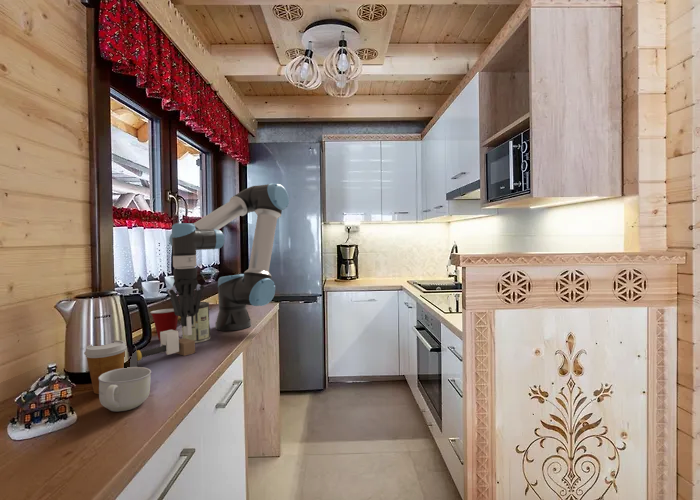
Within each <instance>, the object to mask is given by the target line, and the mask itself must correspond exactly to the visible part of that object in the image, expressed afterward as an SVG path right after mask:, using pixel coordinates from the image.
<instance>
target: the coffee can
mask: <svg viewBox="0 0 700 500" xmlns="http://www.w3.org/2000/svg"><path fill="white" fill-rule="evenodd" d="M209 305H210V302H208V301H200V306H199V311H198V313H195V316H193V325H192V335H189V336H187V335H184V329H183V326H182V325H181V330H182V331H181V332H182V333H181V334H182V338H186V339H190V340H194V341H195V344H197V343H203V342H206V341H209V340H210V339H211V326H210V325H211V324H210V307H209ZM187 316H188V315H187Z"/></svg>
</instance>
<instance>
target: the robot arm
mask: <svg viewBox="0 0 700 500" xmlns="http://www.w3.org/2000/svg"><path fill="white" fill-rule="evenodd" d="M289 203H290V197H289V194H288V192H287V189H286V188H285V186H283V185H282V184H280V183H269V184H268V183H267V184H258V185H252V186H250V187H249V186H248V187H246V188H245V189H243V190H241V191H239V192H238V193H237V194H234V195H233V196H232V197H230V199H229V201H227V202H226V203H225V204H223V205H221V206H220V207H217V209H215V210H213V211H211V212H210V213H208V214H207V215H205V216H203V217H202V218H200V219H199V220H197V221H195V222H193V223H190V222H189V223H187V222H182V223H181V222H179V223H173V224H172V226H171V233H170V235H169V243H170V246H171V247H172V267H173V268H174V269H173V284H172V287H170V289H169V288H168V289H166V293H167V294H168V296H169V298H170V302H171V306H172V309H174V313H175V315H176V316H178V317H180V324H181V327H182V326H183V329H184V335H187V336H189V335H192V325H193V316H195V313H198V311H199V306H200V302H201V298H202V293H203V290H204V289H205V286H204V285H201V284H199V281H198V280H197V278H198V269H197V267H196V266H197V251H201V250H202V251H203V250H218V249H221V248H222V247H223V246H224V244H225V235H224V233H223V232H222V230H220V229H222V228H223V227H225V226H226V225H228V224H229V223H231V222H232V221H234V220H235V219H237V218H238V217H240V216H241V217H244V216H246V215H247V214H249V213H253V212H254V213H255V214H256V217H257V218H256V222H255V228H254V235H253V240H252V247H251V253H250V257H249V265H248V269H246V270H245V271H244V272H243V273H240V274H239V273H238V274H234V275H225V276H220V277H219V278H218V280H217V294H218V295H217V296H218V313H217V316H216V321H215V323H214V324H215V330H217V331H224V332H225V331H227V332H229V331H230V332H231V331H238V330H239V331H240V330H244V329H248V328H250V327H252V320H251V318H250V315H249V312H248V309H247V306H252V307H263V306H266V305H268V304H270V302H272V300H273V299H274V297H275V294H276V285H275V282H274V280H272V274H271V273H270V266H271V259H272V253H273V249H274V248H273V246H274V241H275V233H276V227H277V222H278V219H279V218H281V217H282V212H283V211H284V210H285V209H287V208H288V207H289ZM176 293H177V294H178V295H177V294H176ZM187 315H188V316H187Z"/></svg>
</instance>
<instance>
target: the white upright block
mask: <svg viewBox="0 0 700 500" xmlns="http://www.w3.org/2000/svg"><path fill="white" fill-rule="evenodd" d="M179 339H180V338H179V331H178V330H177V329H176V330H167V331H163V332H160V341H159V343H160V346H164V345H166V351H165V352H161V353H160V354H164V353H166V355H167V356H168V355H172V354H177V353H176V352H179Z"/></svg>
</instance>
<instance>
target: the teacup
mask: <svg viewBox="0 0 700 500" xmlns="http://www.w3.org/2000/svg"><path fill="white" fill-rule="evenodd" d="M151 377H152V370H151V369H150V368H148V367H142V366H137V367H127V368H121V369H116V370H112V371H108V372H106V373H104V374H102V375H100V376H99V378H98V380H99V394H98V398H99V403H100V404H101V406H103V407H104V408H106V409H108V411H111V412H126V411H129V410H134V409H136V408H137V407H140V406H141V405H142V403H144V402H145V401H146V400H147V399H148V397H149V396H150V392H151V391H150V390H151Z"/></svg>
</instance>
